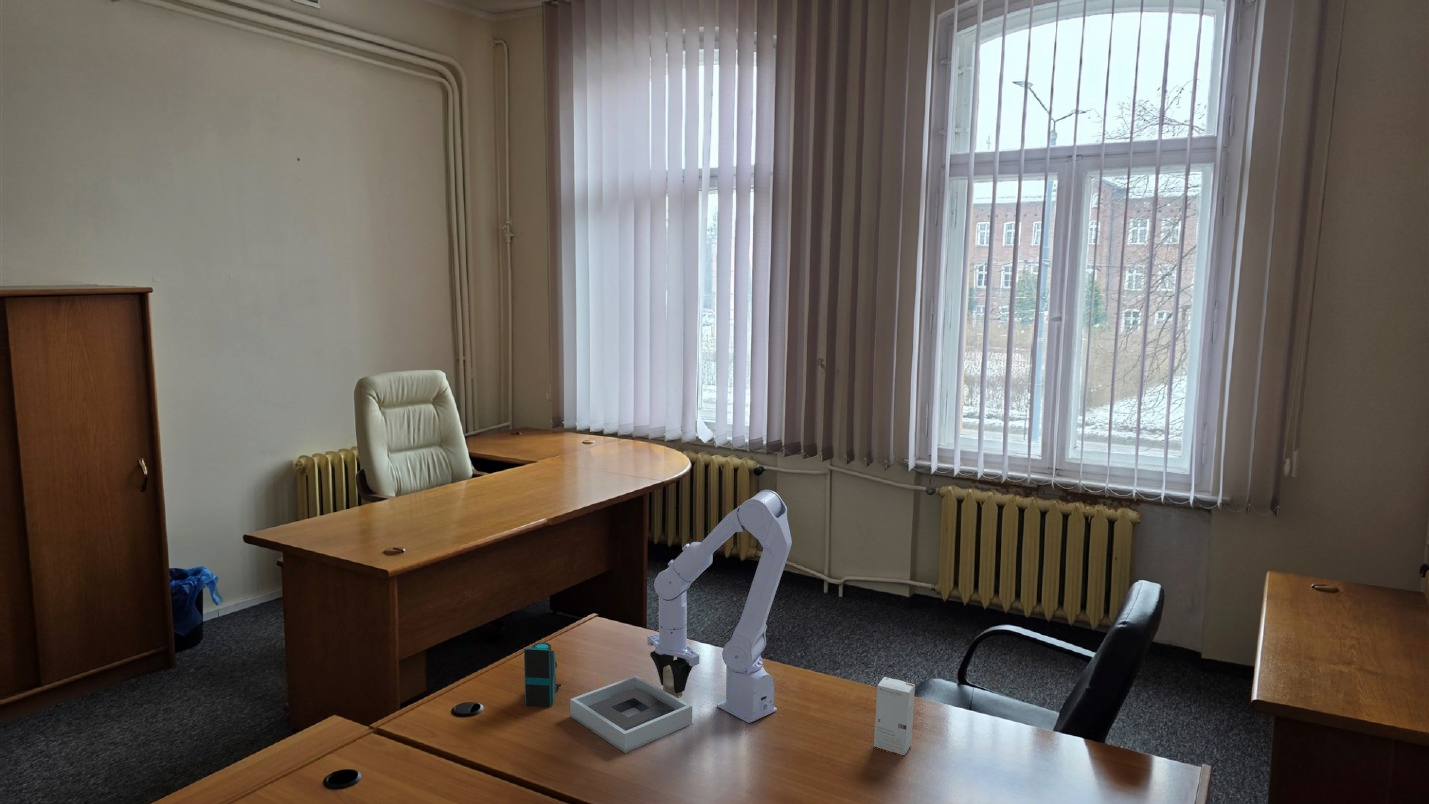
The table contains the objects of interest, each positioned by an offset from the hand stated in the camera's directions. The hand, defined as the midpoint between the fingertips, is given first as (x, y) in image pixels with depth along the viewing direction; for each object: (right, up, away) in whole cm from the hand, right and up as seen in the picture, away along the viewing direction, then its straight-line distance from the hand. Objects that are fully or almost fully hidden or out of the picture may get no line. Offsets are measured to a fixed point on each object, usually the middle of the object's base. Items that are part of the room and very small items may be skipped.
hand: (672, 687), depth 173 cm
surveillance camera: (-26, -2, -1) cm, 26 cm away
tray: (-8, -3, -11) cm, 13 cm away
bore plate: (-8, -3, -11) cm, 13 cm away
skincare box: (+42, -4, -20) cm, 46 cm away
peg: (0, -1, 0) cm, 1 cm away
